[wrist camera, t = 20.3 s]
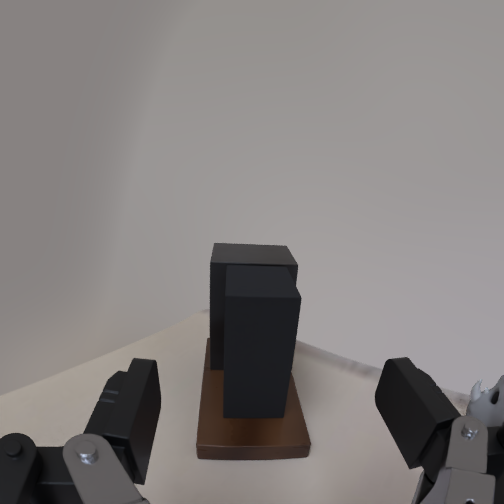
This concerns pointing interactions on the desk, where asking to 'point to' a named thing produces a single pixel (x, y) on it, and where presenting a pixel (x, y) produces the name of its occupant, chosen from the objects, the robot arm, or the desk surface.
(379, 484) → the desk surface
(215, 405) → the black brown block stand
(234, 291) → the black rectangular block
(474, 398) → the round bodied animal figurine
